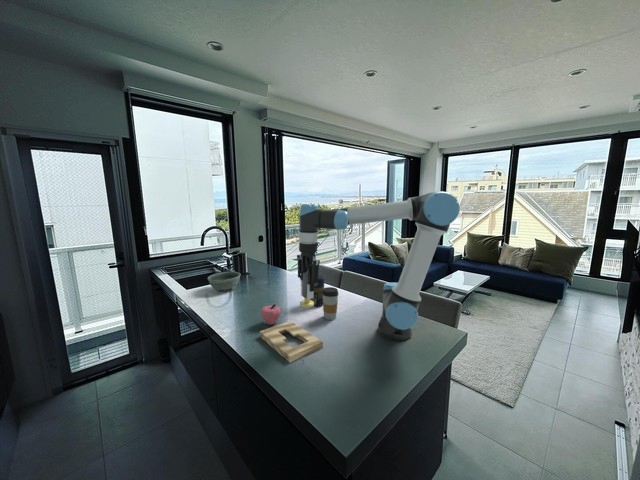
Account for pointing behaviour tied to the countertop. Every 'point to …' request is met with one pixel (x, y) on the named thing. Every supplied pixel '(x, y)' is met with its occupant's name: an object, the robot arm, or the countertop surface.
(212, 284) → the bowl
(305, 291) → the peg
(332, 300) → the coffee cup
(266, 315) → the apple
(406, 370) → the countertop surface
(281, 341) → the keyhole board
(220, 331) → the countertop surface
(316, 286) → the canister
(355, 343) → the countertop surface
